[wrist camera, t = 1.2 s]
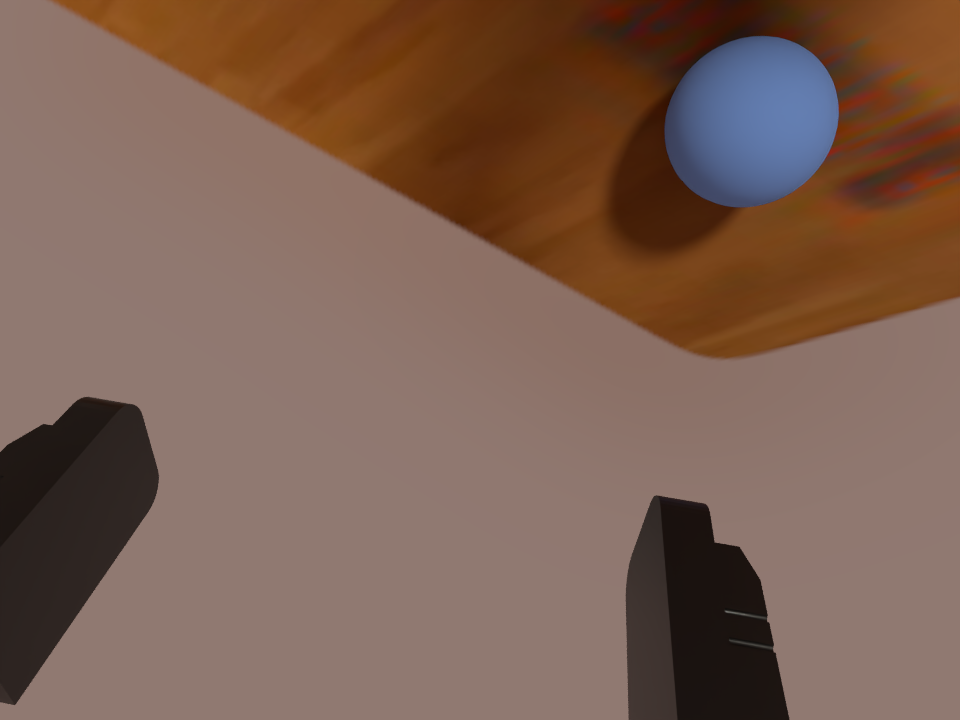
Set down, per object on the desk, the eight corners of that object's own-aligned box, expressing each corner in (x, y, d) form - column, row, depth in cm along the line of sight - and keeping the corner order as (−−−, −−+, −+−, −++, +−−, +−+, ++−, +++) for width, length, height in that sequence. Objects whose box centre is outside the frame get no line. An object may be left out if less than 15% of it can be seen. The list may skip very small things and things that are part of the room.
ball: (792, -12, 25) (834, 22, 21) (833, 133, 28) (878, 192, 24) (637, 67, 28) (643, 114, 23) (689, 194, 31) (703, 258, 26)
